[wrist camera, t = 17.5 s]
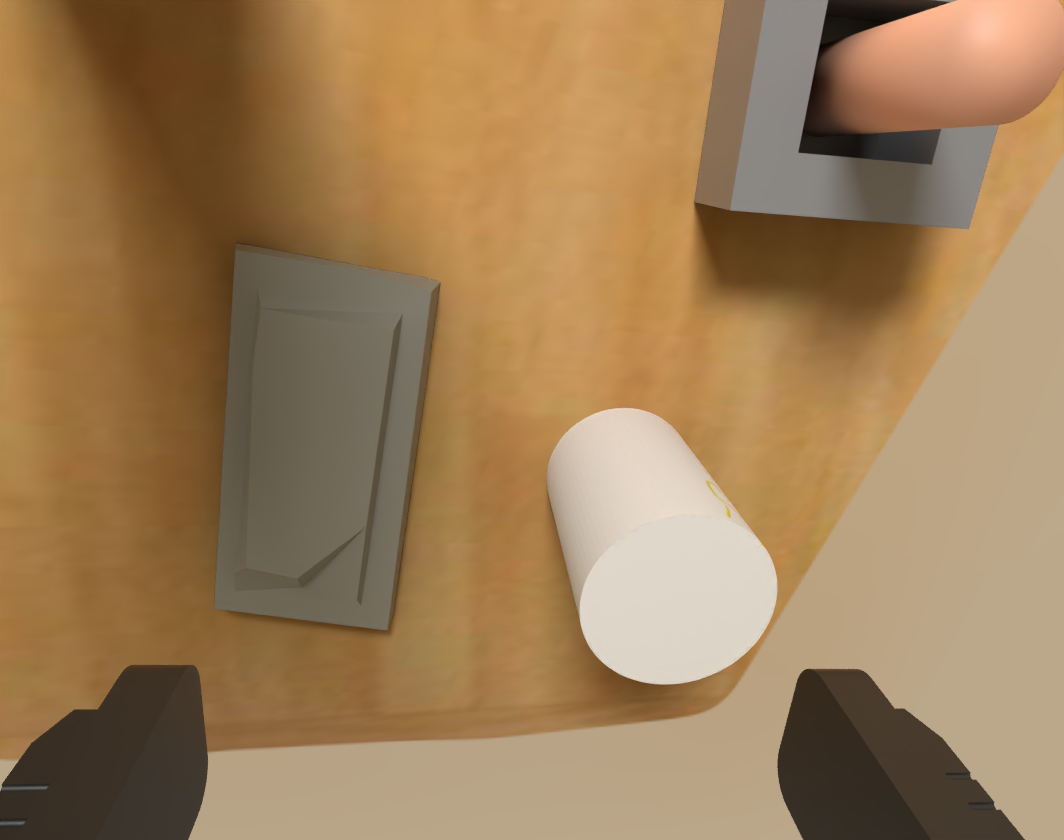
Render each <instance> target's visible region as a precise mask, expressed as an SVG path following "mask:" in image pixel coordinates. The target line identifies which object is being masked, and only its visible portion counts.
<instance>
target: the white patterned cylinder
mask: <svg viewBox="0 0 1064 840" xmlns="http://www.w3.org/2000/svg"><path fill="white" fill-rule="evenodd" d="M546 482H547V491H548V495H549V499H550V503H551V507H552V511H553V515H554V519H555V523H556V527H557V531H558V535H559V539H560V543H561V547H562V551H563V555H564V559H565V563H566V567H567V571H568V575H569V579H570V583H571V587H572V591H573V595H574V599H575V603H576V607H577V611H578V615H579V619H580V623H581V627H582V631H583V634H584V637H585V639H586V641H587V643H588V645H589V647H590V648H591V650H592V651H593V652H594V654H595V655H596V656H597V657H598V658H599V659H600V660H601V661H602V662H603V663H604V664H605V665H606V666H608V667H609V668H610V669H612V670H613V671H615V672H617V673H619V674H620V675H623V676H625V677H627V678H630V679H633V680H636V681H640V682H644V683H651V684H679V683H686V682H691V681H695V680H698V679H702V678H705V677H707V676H710V675H712V674H714V673H717V672H719V671H721V670H722V669H724V668H726V667H728V666H729V665H731V664H732V663H734V662H735V661H737V660H738V659H739V658H740V657H742V656H743V655H744V654H745V653H746V652H747V651H748V650H749V649H750V648H751V647H752V646H753V645H754V644H755V643H756V642H757V640H758V639H759V638H760V636H761V635H762V634H763V632H764V630H765V629H766V627H767V625H768V623H769V621H770V619H771V616H772V614H773V611H774V608H775V603H776V598H777V577H776V572H775V568H774V565H773V562H772V560H771V558H770V556H769V554H768V552H767V550H766V549H765V548H764V546H763V545H762V543H761V542H760V541H759V539H758V538H757V537H756V536H755V534H754V533H753V532H752V530H751V529H750V528H749V526H748V525H747V524H746V522H745V521H744V520H743V518H742V517H741V516H740V514H739V513H738V512H737V510H736V509H735V508H734V506H733V505H732V504H731V503H730V501H729V500H728V499H727V497H726V496H725V495H724V493H723V492H722V491H721V489H720V488H719V487H718V485H717V484H716V483H715V481H714V480H713V479H712V477H711V476H710V475H709V473H708V472H707V471H706V470H705V468H704V467H703V466H702V464H701V463H700V462H699V460H698V459H697V458H696V456H695V455H694V454H693V452H692V451H691V450H690V448H689V447H688V446H687V444H686V443H685V442H684V440H683V439H682V438H681V437H680V435H679V434H678V433H677V431H676V430H675V429H674V428H673V427H672V426H671V425H670V424H669V423H667V422H666V421H665V420H663V419H662V418H660V417H658V416H657V415H654V414H652V413H650V412H647V411H643V410H639V409H633V408H616V409H609V410H605V411H601V412H598V413H595V414H593V415H591V416H589V417H587V418H585V419H583V420H581V421H580V422H578V423H577V424H575V425H574V426H573V427H572V428H571V429H570V430H569V431H567V432H566V434H565V435H564V436H563V437H562V438H561V439H560V441H559V442H558V444H557V445H556V447H555V449H554V451H553V453H552V455H551V458H550V460H549V464H548V468H547V477H546Z"/></svg>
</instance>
